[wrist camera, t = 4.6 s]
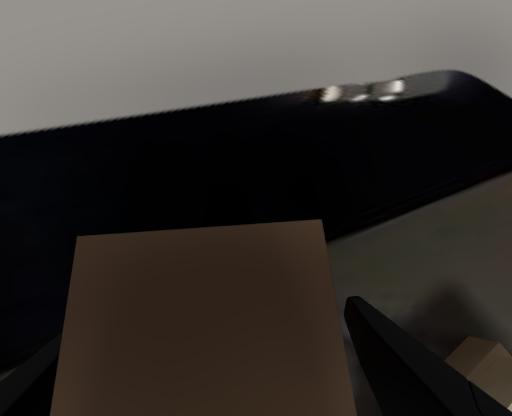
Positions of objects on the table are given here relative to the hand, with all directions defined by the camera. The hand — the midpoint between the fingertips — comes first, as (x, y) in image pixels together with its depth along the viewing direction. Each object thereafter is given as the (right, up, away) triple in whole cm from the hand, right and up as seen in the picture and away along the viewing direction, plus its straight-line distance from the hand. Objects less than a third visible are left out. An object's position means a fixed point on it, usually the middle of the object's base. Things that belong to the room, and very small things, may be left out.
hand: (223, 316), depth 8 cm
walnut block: (0, -3, +7) cm, 8 cm away
